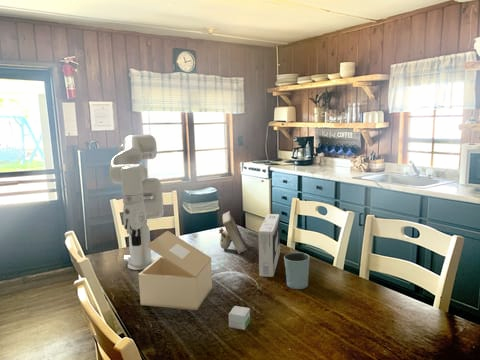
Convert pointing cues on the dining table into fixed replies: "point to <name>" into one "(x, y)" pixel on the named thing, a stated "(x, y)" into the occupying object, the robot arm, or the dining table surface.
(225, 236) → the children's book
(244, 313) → the small box
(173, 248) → the lid flap
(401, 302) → the dining table surface
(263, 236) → the packaging
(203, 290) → the carton
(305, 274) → the blue gray cup
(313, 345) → the dining table surface
